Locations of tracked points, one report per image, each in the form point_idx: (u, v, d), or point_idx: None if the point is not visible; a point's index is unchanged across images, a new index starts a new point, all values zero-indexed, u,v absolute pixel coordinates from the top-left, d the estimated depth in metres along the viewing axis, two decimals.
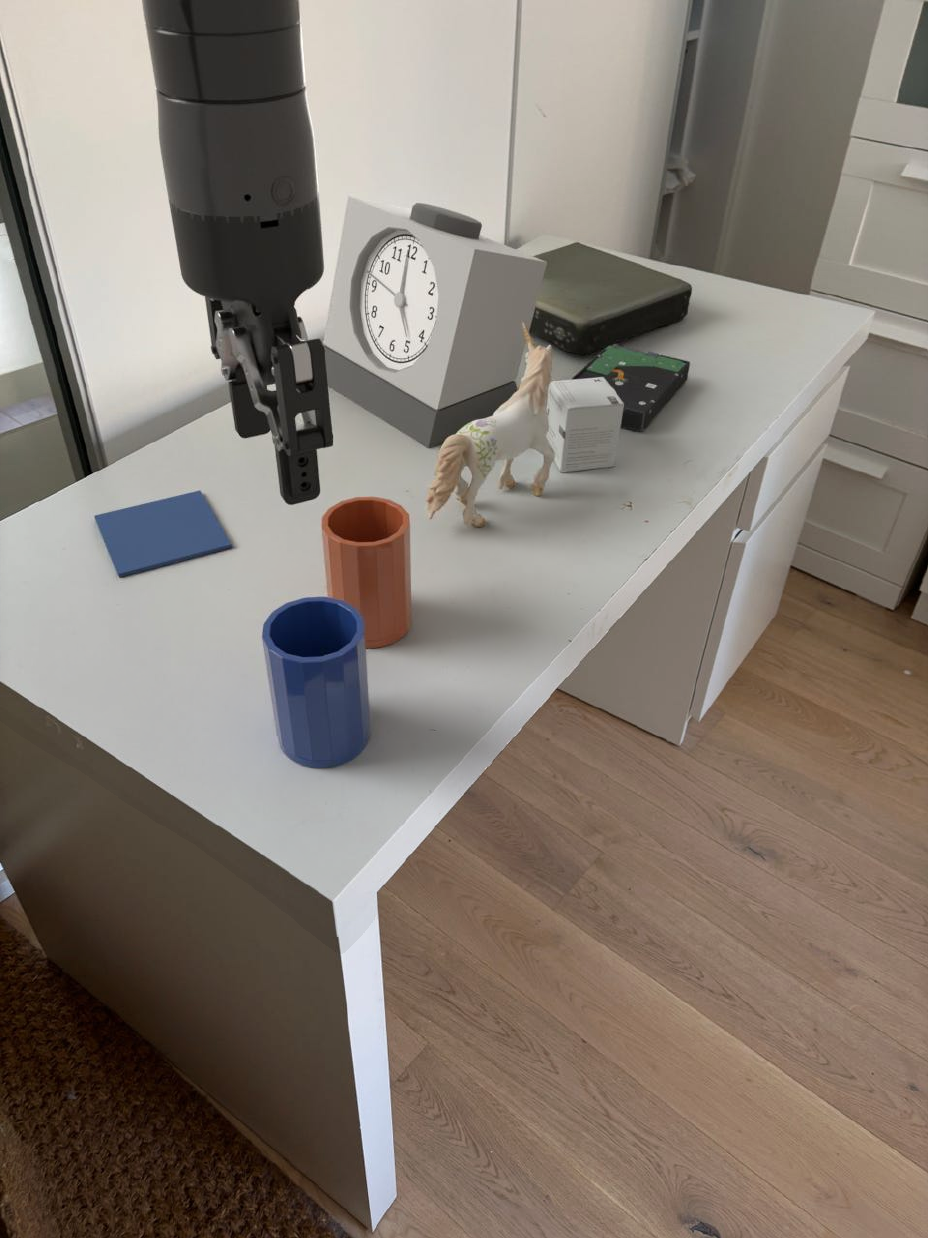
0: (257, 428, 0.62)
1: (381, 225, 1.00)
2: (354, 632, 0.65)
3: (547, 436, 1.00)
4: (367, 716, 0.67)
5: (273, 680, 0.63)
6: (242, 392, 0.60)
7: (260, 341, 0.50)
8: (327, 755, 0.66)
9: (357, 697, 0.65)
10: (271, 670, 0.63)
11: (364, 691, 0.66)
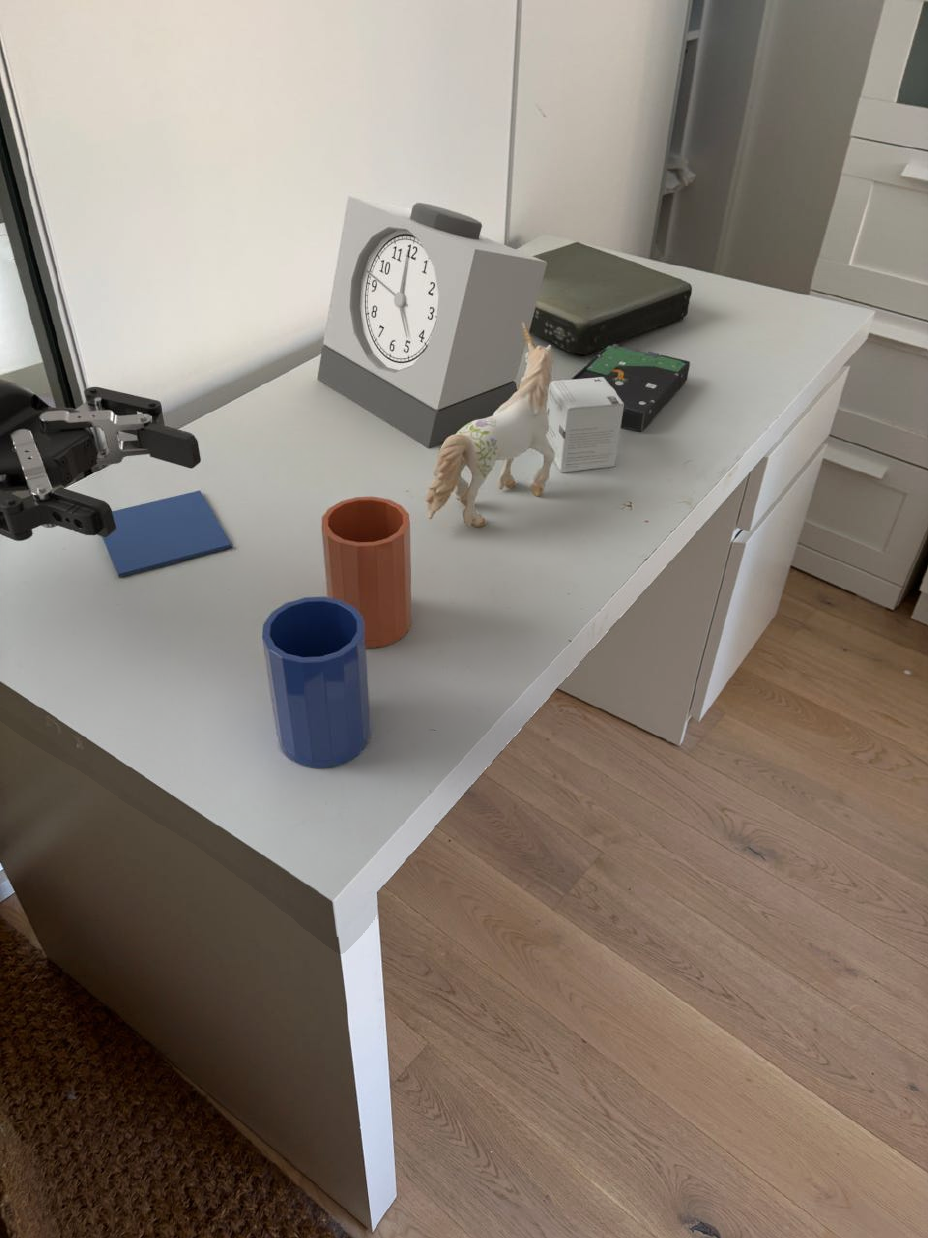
0: None
1: (381, 225, 1.00)
2: (354, 632, 0.65)
3: (547, 436, 1.00)
4: (367, 716, 0.67)
5: (273, 680, 0.63)
6: None
7: (68, 409, 0.65)
8: (327, 755, 0.66)
9: (357, 697, 0.65)
10: (271, 670, 0.63)
11: (364, 691, 0.66)
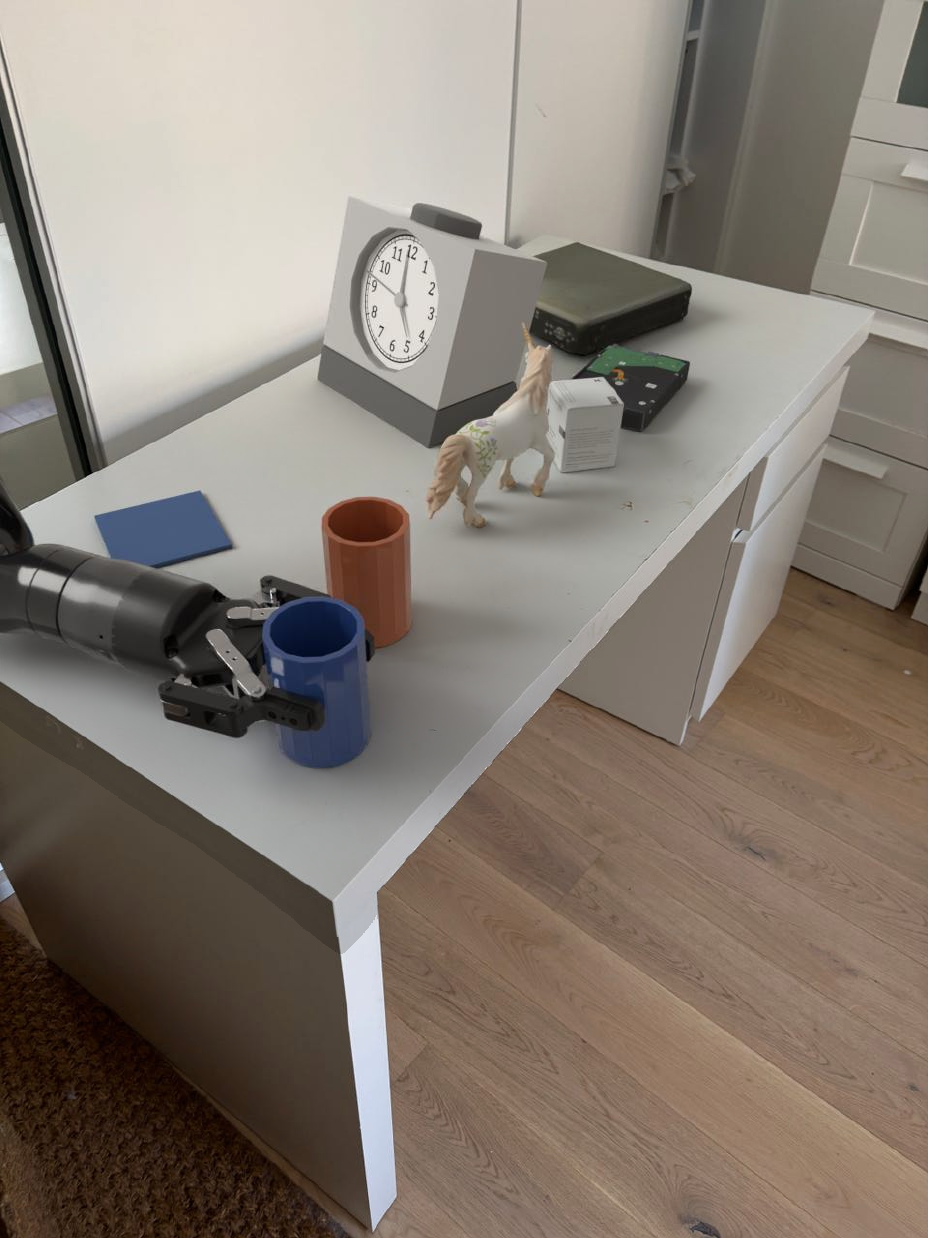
0: None
1: (381, 225, 1.00)
2: (354, 632, 0.65)
3: (547, 436, 1.00)
4: (367, 716, 0.67)
5: (273, 680, 0.63)
6: None
7: (246, 601, 0.70)
8: (327, 755, 0.66)
9: (357, 697, 0.65)
10: (271, 670, 0.63)
11: (365, 691, 0.66)
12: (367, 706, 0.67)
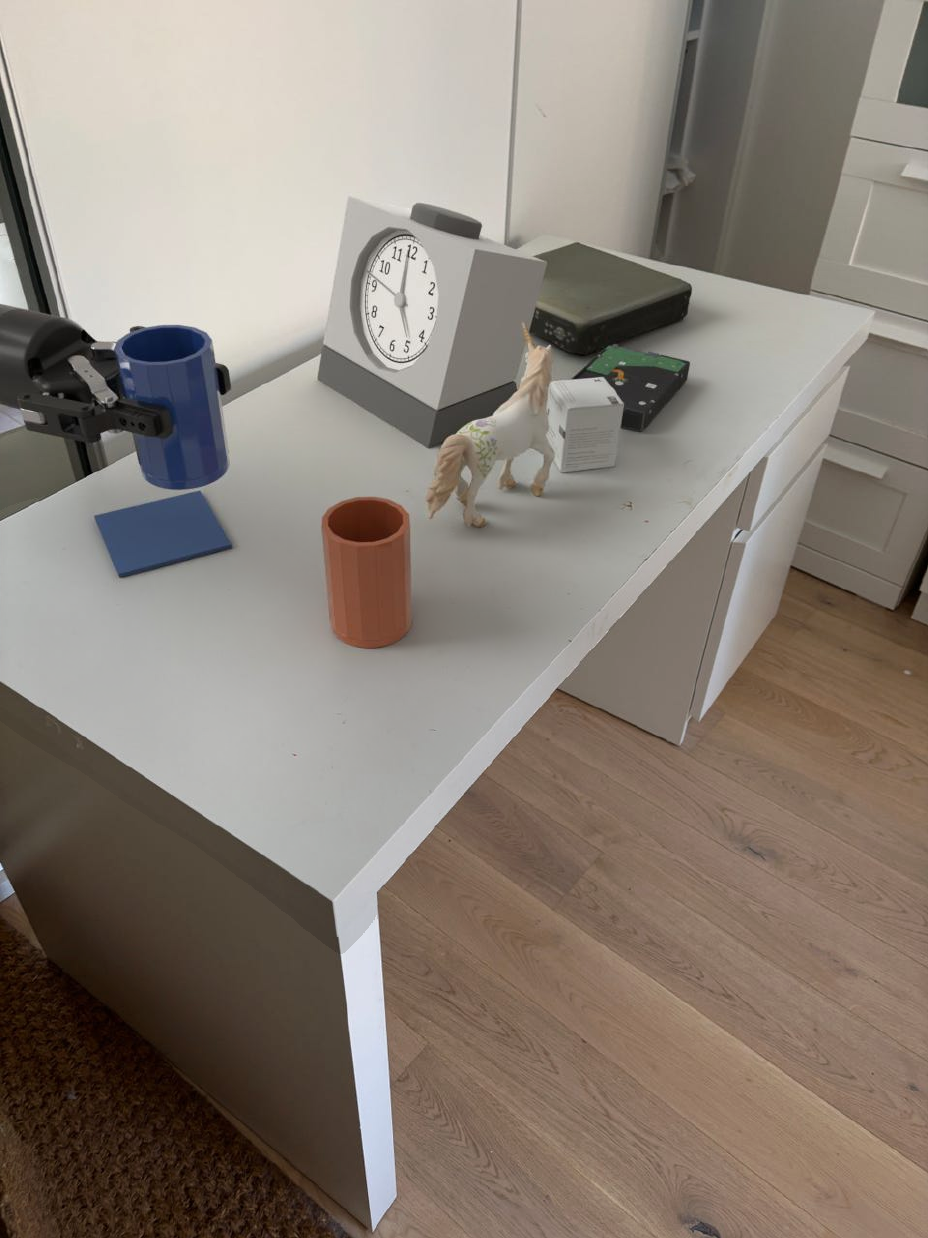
0: None
1: (381, 225, 1.00)
2: None
3: (547, 436, 1.00)
4: (222, 443, 0.72)
5: (126, 392, 0.68)
6: None
7: (113, 342, 0.74)
8: (182, 475, 0.71)
9: (207, 414, 0.69)
10: (123, 381, 0.67)
11: (216, 412, 0.70)
12: (221, 432, 0.72)
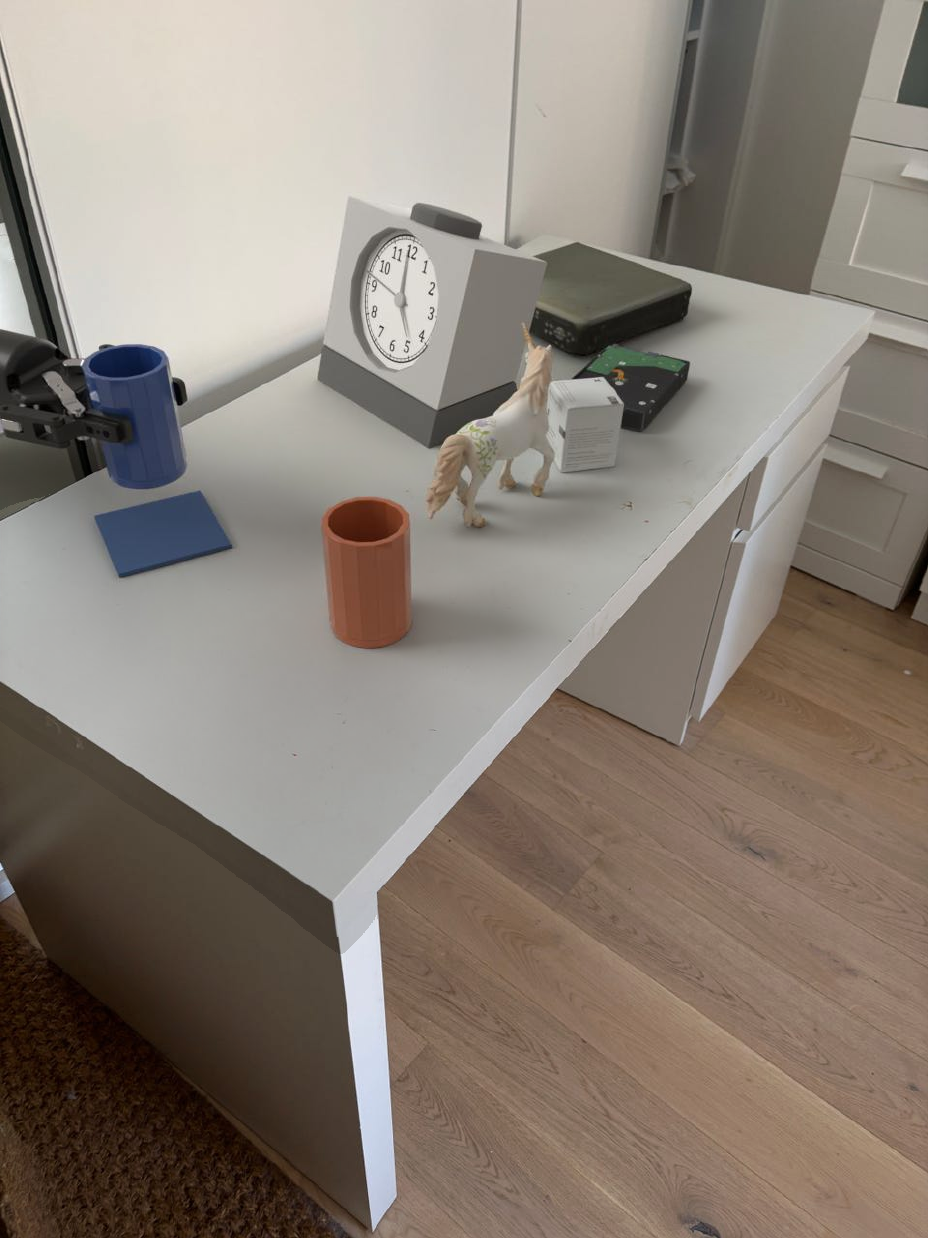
0: None
1: (381, 225, 1.00)
2: None
3: (547, 436, 1.00)
4: (179, 448, 0.82)
5: (92, 404, 0.78)
6: None
7: (84, 359, 0.84)
8: (143, 476, 0.81)
9: (164, 423, 0.79)
10: (90, 394, 0.77)
11: (172, 421, 0.80)
12: (177, 438, 0.81)
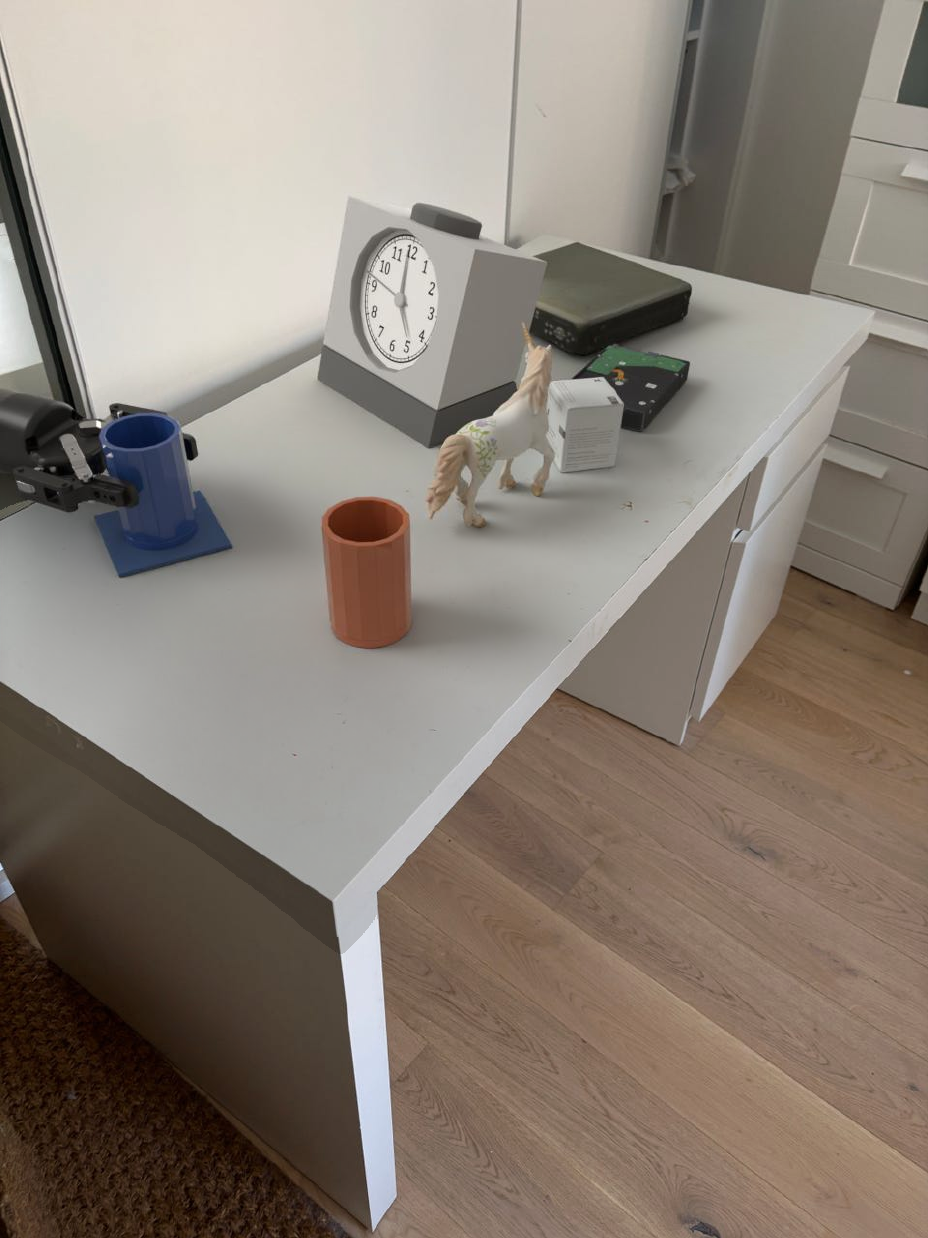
0: None
1: (381, 225, 1.00)
2: None
3: (547, 436, 1.00)
4: (191, 510, 0.86)
5: (109, 472, 0.82)
6: None
7: (98, 419, 0.88)
8: (157, 538, 0.85)
9: (177, 488, 0.83)
10: (106, 463, 0.81)
11: (185, 486, 0.84)
12: (189, 501, 0.85)
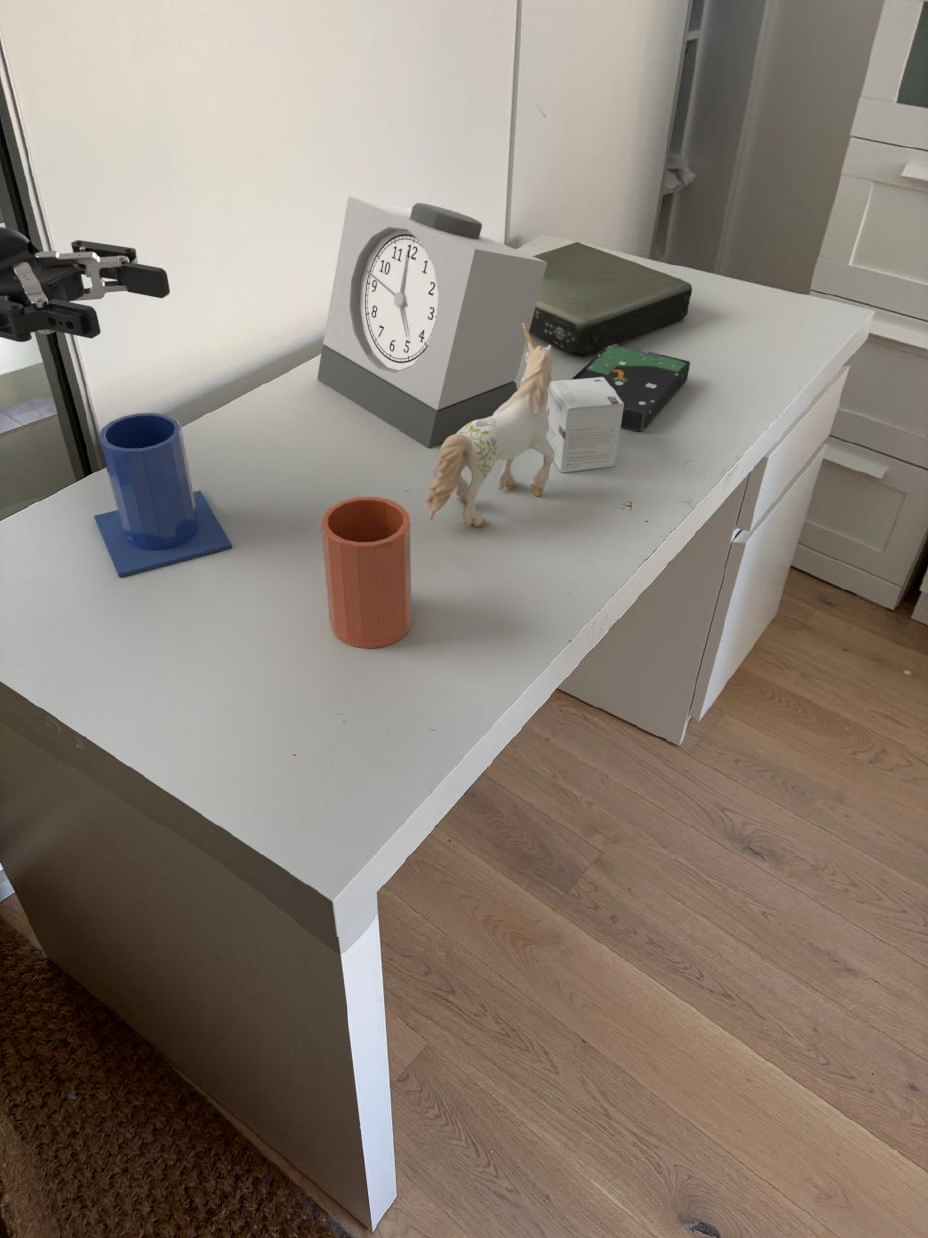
0: None
1: (381, 225, 1.00)
2: None
3: (547, 436, 1.00)
4: (191, 510, 0.86)
5: (109, 472, 0.82)
6: None
7: None
8: (157, 538, 0.85)
9: (177, 488, 0.83)
10: (106, 463, 0.81)
11: (185, 486, 0.84)
12: (189, 501, 0.85)
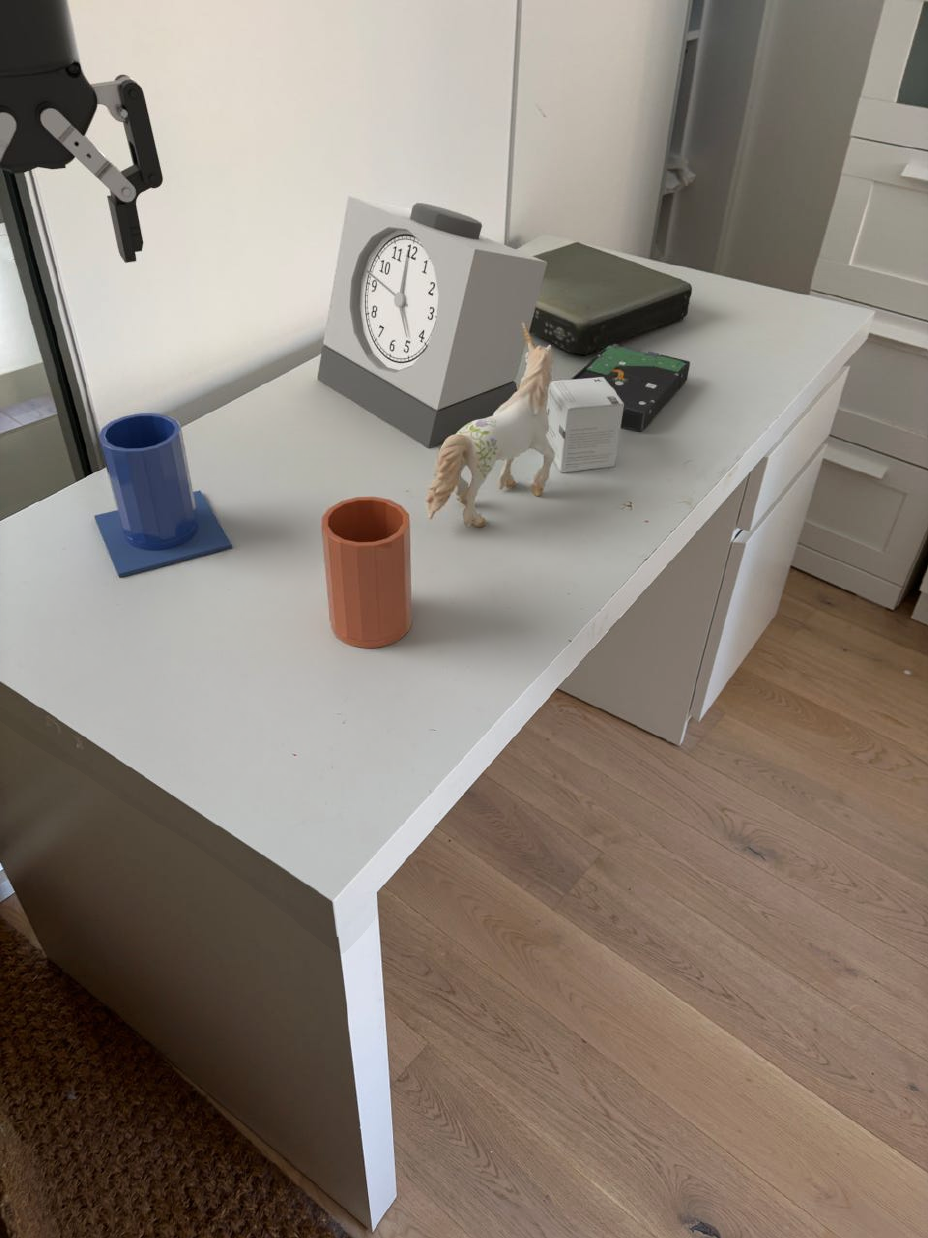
0: None
1: (381, 225, 1.00)
2: None
3: (547, 436, 1.00)
4: (191, 510, 0.86)
5: (109, 472, 0.82)
6: None
7: (87, 100, 0.56)
8: (157, 538, 0.85)
9: (177, 488, 0.83)
10: (106, 463, 0.81)
11: (185, 486, 0.84)
12: (189, 501, 0.85)
